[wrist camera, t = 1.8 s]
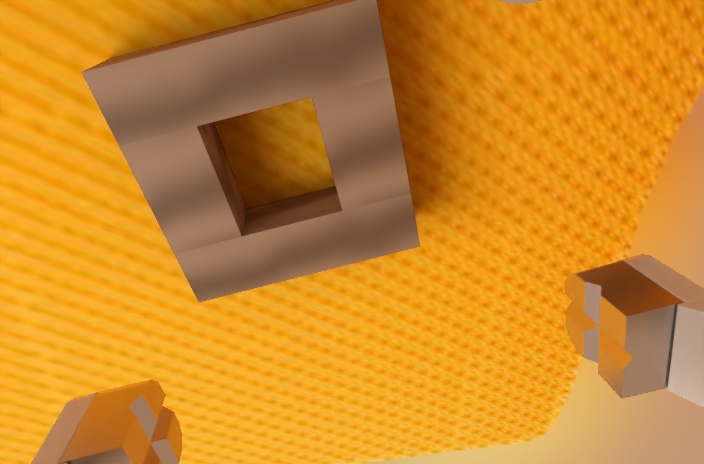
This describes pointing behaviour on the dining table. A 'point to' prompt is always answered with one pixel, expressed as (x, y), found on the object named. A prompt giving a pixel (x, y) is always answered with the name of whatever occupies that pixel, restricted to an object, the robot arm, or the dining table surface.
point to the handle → (519, 1)
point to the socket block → (252, 95)
